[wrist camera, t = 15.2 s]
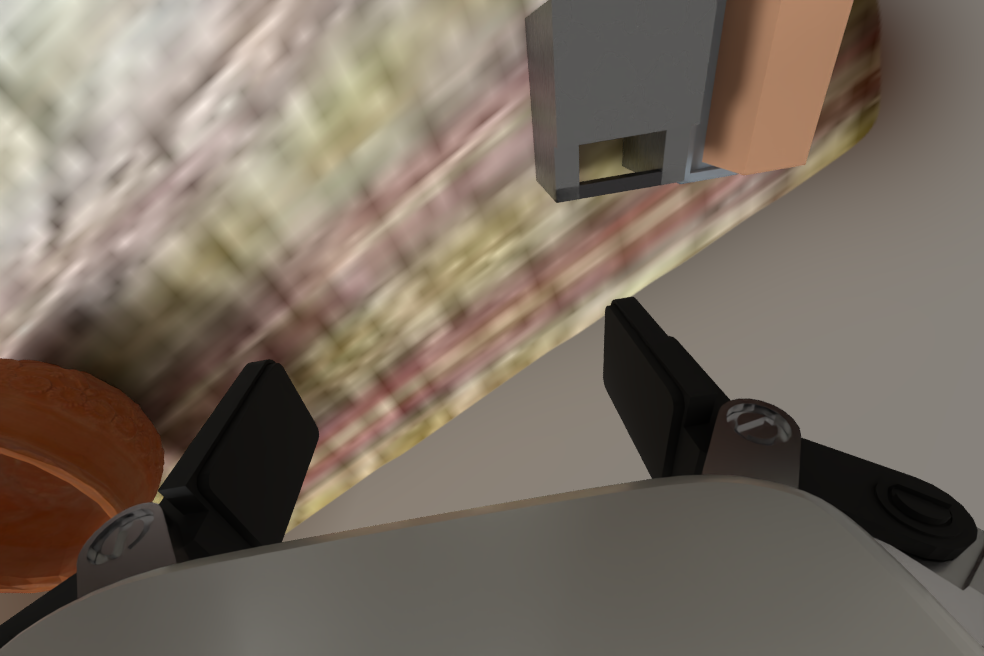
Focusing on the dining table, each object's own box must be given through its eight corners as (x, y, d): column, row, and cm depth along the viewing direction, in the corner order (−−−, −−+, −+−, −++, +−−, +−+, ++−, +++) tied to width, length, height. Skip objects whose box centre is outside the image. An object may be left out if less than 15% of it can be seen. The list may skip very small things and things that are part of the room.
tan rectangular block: (730, -25, 28) (791, -47, 23) (796, -36, 28) (871, -61, 23) (701, 161, 35) (743, 175, 30) (754, 152, 36) (805, 164, 31)
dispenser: (524, 18, 29) (551, -2, 22) (652, -3, 29) (722, -31, 22) (536, 180, 36) (559, 206, 29) (641, 162, 36) (690, 184, 29)
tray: (695, -45, 28) (711, -53, 27) (827, -67, 28) (851, -76, 27) (669, 179, 37) (680, 184, 35) (770, 162, 37) (785, 166, 35)
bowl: (-127, 342, 38) (-408, 471, 25) (107, 282, 37) (-65, 385, 25) (76, 486, 52) (-42, 615, 39) (251, 444, 51) (187, 563, 38)
